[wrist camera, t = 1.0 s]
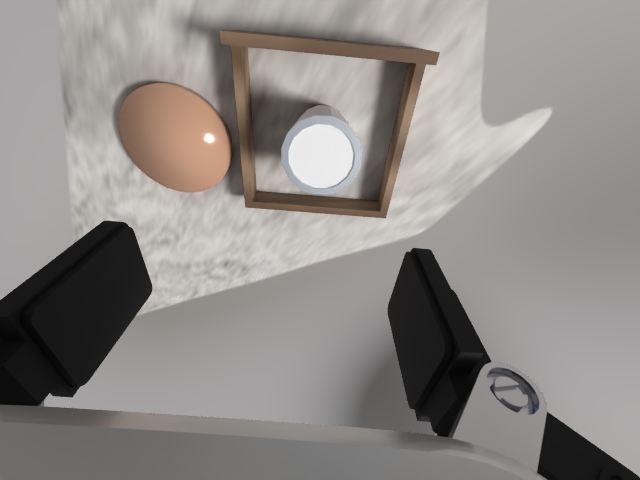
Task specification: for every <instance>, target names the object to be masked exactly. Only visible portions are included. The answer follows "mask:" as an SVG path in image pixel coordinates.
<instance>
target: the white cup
mask: <svg viewBox="0 0 640 480" xmlns="http://www.w3.org/2000/svg"><path fill="white" fill-rule="evenodd" d="M281 156H282V166H283V168H284V170H285V172H286V174H287V176H288V178H289V179H290V180H291V181H292V182H293V183H294V184H295V185H296V186H297V187H298V188H300V189H302V190H304V191H307V192H309V193H311V194H324V195H327V194H331V193H334V192H337V191H340V190H342V189H343V188H344V187H346V186H347V185H348V184H350V183H351V182H352V181H353V180H354V178H355V176H356V175H357V173H358V171H359V169H360V167H361V160H362V149H361V145H360V142H359V138H358V136H357V135H356V133H355V132H354V130H353V129H352V127H351V126H350V124H349V123H348V121H347V120H346V118H345V117H344V116H343V115H342V113H341V112H340V111H339V110H337V109H335V108H333V107H331V106H327V105H317V106H314V107H312V108H309V109H307V110H306V111H305V112H304V113H303V114H302V115H301V116H300V117H299V119H298V120H297V121H296V123H295V124H294V125H293V126H292V128H291V129H290V130H289V132H288V133H287V135H286V137H285V140H284V143H283V145H282V148H281Z"/></svg>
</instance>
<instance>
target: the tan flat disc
mask: <svg viewBox="0 0 640 480" xmlns="http://www.w3.org/2000/svg"><path fill="white" fill-rule="evenodd" d="M119 132H120V136H121V140H122V142H123V145H124V147H125V149H126V151H127V153H128V154H129V156H130V157H131V159H132V160H133V161H134V163H135V164H136V165H137V166H138V167H139V168H140V169H141V170H142V171H143V172H144V173H145V174H146V175H147V176H149V177H150V178H151V179H153V180H154V181H156V182H158V183H159V184H161V185H163V186H165V187H167V188H170V189H173V190H177V191H181V192H200V191H204V190H207V189H210V188H211V187H213V186H215V185H216V184H217V183H219V182H220V180H221V179H222V178H223V177H224V175H225V174H226V172H227V171H228V169H229V166H230V164H231V160H232V142H231V137H230V134H229V131H228V129H227V126H226V124H225V123H224V121H223V119H222V117H221V116H220V115H219V113H218V112H217V111H216V109H215V108H214V107H213V106H212V105H211V104H210V103H209V102H208V101H207V100H206V99H204V98H203V97H202V96H200V95H199V94H197V93H196V92H194V91H192V90H190V89H188V88H186V87H184V86H181V85H177V84H173V83H165V82H159V83H152V84H149V85H146V86H142V87H140V88H138V89H136V90H134V91H133V92H132V93H130V94H129V95H128V96H127V98H126V99H125V100H124V102H123V104H122V106H121V109H120V112H119Z"/></svg>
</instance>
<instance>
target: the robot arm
mask: <svg viewBox="0 0 640 480" xmlns="http://www.w3.org/2000/svg"><path fill="white" fill-rule="evenodd" d="M151 292H152V283H151V280H150V278H149V275H148V272H147V269H146V266H145V263H144V260H143V257H142V254H141V251H140V248H139V245H138V242H137V239H136V236H135V233H134V231H133V229H132V228H131V227H129V226H128V225H127V224H126V223H124V222H116V221H103V222H102V223H100V224H99V225H98V226H96V227H95V228H94V229H92V230H91V231H90V232H89V233H87V234H86V235H85V236H83V237H82V238H81V239H79V240H78V241H77V242H75V243H74V244H73V245H72V246H70V247H69V248H68V249H67V250H65V251H64V252H63V253H61V254H60V255H59V256H57V257H56V258H55V259H54V260H52V261H51V262H50V263H48V264H47V265H46V266H44V267H43V268H42V269H40V270H39V271H38V272H36V273H35V274H34V275H33V276H31V277H30V278H29V279H27V280H26V281H25V282H23V283H22V284H21V285H20V286H18V287H17V288H16V289H14V290H13V291H12V292H10V293H9V294H8V295H7V296H5V297H4V298H3V299H1V300H0V480H640V478H639V477H638V476H637V475H636V474H635V473H633V472H632V471H631V470H629V469H627V468H626V467H625V466H623V465H622V464H621V463H619V462H618V461H616V460H615V459H614V458H612V457H611V456H609V455H608V454H606V453H605V452H604V451H602V450H601V449H599V448H598V447H596V446H595V445H594V444H592V443H591V442H589V441H588V440H587V439H585V438H584V437H582V436H581V435H579V434H578V433H577V432H575V431H574V430H572V429H571V428H570V427H568V426H567V425H565V424H564V423H562V422H561V421H559V420H558V419H557V418H555V417H554V416H552V415H551V414H550V413H548V412H547V403H546V401H545V398H544V396H543V394H542V392H541V391H540V389H539V388H538V387H537V385H536V384H535V383H534V382H533V381H532V380H531V379H530V378H529V377H528V376H527V375H526V374H524V373H523V372H521V371H520V370H518V369H517V368H515V367H513V366H511V365H508V364H505V363H501V362H491V360H490V358H489V356H488V354H487V352H486V350H485V348H484V347H483V345H482V343H481V341H480V339H479V337H478V335H477V333H476V331H475V329H474V327H473V325H472V324H471V322H470V320H469V318H468V316H467V314H466V312H465V310H464V308H463V307H462V305H461V303H460V301H459V299H458V297H457V295H456V293H455V292H454V291H453V290H452V289H451V288H450V286H449V284H448V282H447V280H446V278H445V276H444V274H443V272H442V271H441V268H440V267H439V265H438V263H437V261H436V259H435V257H434V255H433V253H432V251H431V250H429V249H419V248H413V249H412V250H411V252H406V254H405V256H404V259H403V262H402V265H401V268H400V271H399V274H398V277H397V280H396V283H395V286H394V289H393V292H392V295H391V299H390V301H389V304H388V317H389V321H390V325H391V330H392V334H393V339H394V343H395V347H396V352H397V356H398V361H399V365H400V370H401V373H402V378H403V383H404V387H405V391H406V395H407V400H408V404H409V406H410V408H411V409H415V413H416V417H417V421H427V422H431V426H432V429H433V431H434V432H435V435H427V434H420V433H410V432H400V431H389V430H377V429H366V428H356V427H342V426H328V425H314V424H299V423H286V422H272V421H259V420H244V419H229V418H213V417H199V416H184V415H170V414H154V413H153V414H152V413H139V412H123V411H107V410H91V409H90V410H89V409H74V408H59V407H44V399H45V398H46V397H47V396H48V394H49V393H51V394H52V396H60V397H73V395H74V394H75V393H76V392H77V390H78V389H79V387H80V386H83V385H85V384H86V383H87V382H88V380H90V378H91V377H92V375H93V374H94V372H95V371H96V370H97V368H98V367H99V366H100V364H101V363H102V362H103V360H104V359H105V357H106V356H107V355H108V353H109V352H110V350H111V349H112V347H113V346H114V345H115V343H116V342H117V341H118V339H119V338H120V337H121V335H122V334H123V332H124V331H125V330H126V328H127V327H128V325H129V324H130V323H131V321H132V320H133V318H134V317H135V316H136V314H137V313H138V312H139V310H140V309H141V307H142V306H143V305H144V303H145V302H146V300H147V299H148V298H149V296H150V295H151Z"/></svg>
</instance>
